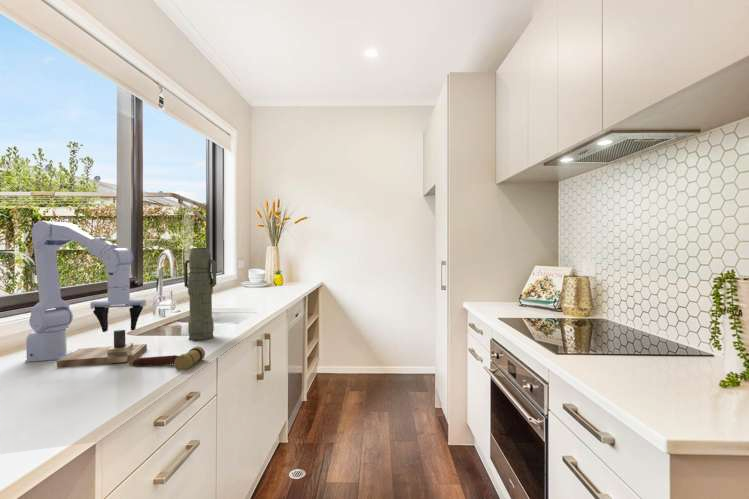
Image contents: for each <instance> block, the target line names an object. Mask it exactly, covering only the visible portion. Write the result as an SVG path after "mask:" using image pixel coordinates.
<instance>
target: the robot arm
mask: <svg viewBox="0 0 749 499" xmlns="http://www.w3.org/2000/svg"><path fill="white" fill-rule="evenodd" d="M30 232H31V238H32V247H33V252H34V261H35V262H34V263H35V270H36V281H37V288H38V289H37V290H38V297H39V298H38V299H39V301H38V302H37V303H36V304H35V305H34V306H32V307H31V308H30V317H29V321H28V322H29V326H30V328H31V329H32V330H33V331H31V332H29V333H28V335H27V337H26V342H25V344H26V346H25V348H26V349H25V350H26V360H24V361H25V362H26V363H28V362H41V361H42V362H43V361H55V360H56V361H58V360H59V359H61V358H63V357H65V356H67V355H69V354H70V353H72V352H73V351H67V350H68V349H67V346H68V345H67V329H68V328H69V325H71V323H72V322H73V319H74V317H73V312H72V310H71V308H70V304H69V302H67V300H64V299H62V295H61V285H60V277H59V268H58V267H59V265H58V257H57V251H58V250H59V249H60V248H63V247H64V246H66V245H67V244H69V243H71V242H74V243H76V244H79V245H81V246H83V247H85V248H86V251H87V253H88V254H90V255H93V256H94V257H95V258H98V259H100V260H101V261H102V264H103V265H104V268H105V272H106V275H107V277H106V279H107V282H106V283H107V300H100V301H91V302H89V303H90V309H91V310H92V311H93V312H92V313H93V314H94V315H95V317H96V318H97V320H98V322H99V324H100V327H101V331H102V333H107V332H108V330H109V321H108V319H109V310H110V308H128V310H129V315H130V331H135V330H136V329H137V323H138V319H139V317H140V315H141V312H142V311H143V309H144V307H146V306H147V299H131V298H130V296H131V295H130V293H131V292H130V284H131V282H130V265H132V264H133V262H134V260H135V259H134V258H135V256H134V253H133V251H132V250H131V249H130V248H129V247H120V246H119V244H116V243H113V242H110V241H109V240H107V238H106V237H105V236H96V237H93V236H92V235H90V234H88V232H85V231H83V229H81V228H79V227H78V225H77V224H74V223H72V222H70V221H69V222H68V221H66V222H64V221H63V222H62V221H61V222H60V221H58V222H57V221H46V220H39V221H37V222H36V223H35V224H34V225H33V226H32V228H31V229H30Z"/></svg>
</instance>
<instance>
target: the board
mask: <svg viewBox="0 0 749 499" xmlns="http://www.w3.org/2000/svg"><path fill="white" fill-rule="evenodd" d="M112 346H113V345H112ZM112 346H102V347H101V346H99V347H88V348H87V347H86V348H84V347H83V348H78V349H76V350H74V351H72V353H70V354H69V355H67V356H65V357H63V358H61V359H57V360H56V368H57V367H58V368H68V367H71V368H72V367H81V366H93V365H104V364H105V365H106V364H109V363H108V358H107V349H109V348H110V347H112ZM147 350H148V345H147V343H143V344H142V343H141V344H133V347H132V352H131V353H129V354H128V355H127V362H126V363H129V362H130V361H133V360H135V359H138V358H140V356H141V355H143V354H144V353H145V352H146V351H147ZM119 363H121V362H118V363H117V364H119Z"/></svg>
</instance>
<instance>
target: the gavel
mask: <svg viewBox="0 0 749 499" xmlns="http://www.w3.org/2000/svg"><path fill="white" fill-rule="evenodd" d="M205 356H206V352H205V350H204V349H203V347H201V346H194V347H192V348H191V349H189V351H187V352H186V353H182V354H180V355H175V354H173V355H161V356H145V357H138V358H137V359H135V360H133V361H130V362H127V363H128V365H130V366H131V365H132V366H136V367H149V366H151V367H152V366H163V365H164V366H165V365H174V367H175V370H177V371H187V370H189V369H190V368H191V367H192V366H194V364H196V363H199V362H201V361H203V359H204V358H205Z"/></svg>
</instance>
